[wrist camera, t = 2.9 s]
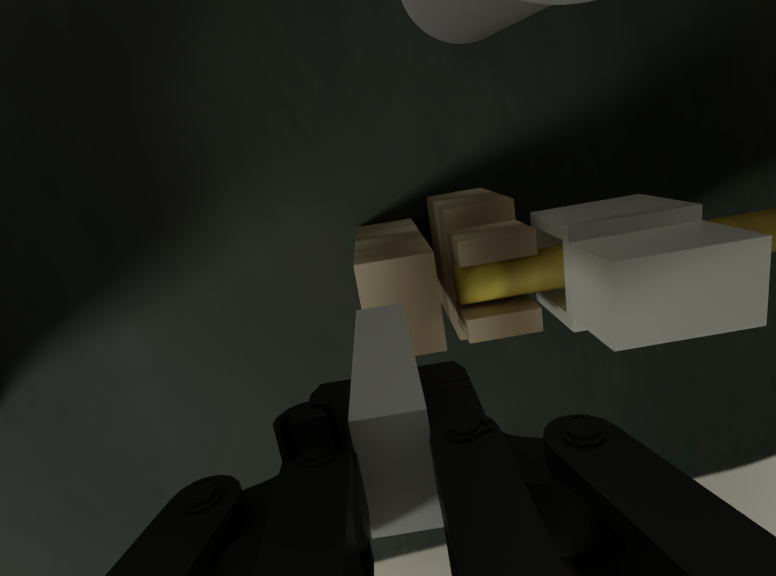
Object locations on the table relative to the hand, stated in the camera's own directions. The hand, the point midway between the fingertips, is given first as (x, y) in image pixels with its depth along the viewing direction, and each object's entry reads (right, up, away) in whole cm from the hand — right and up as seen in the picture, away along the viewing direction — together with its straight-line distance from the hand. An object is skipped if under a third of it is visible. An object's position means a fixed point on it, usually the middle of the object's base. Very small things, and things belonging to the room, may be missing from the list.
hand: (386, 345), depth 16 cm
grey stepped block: (+9, +4, +7) cm, 12 cm away
